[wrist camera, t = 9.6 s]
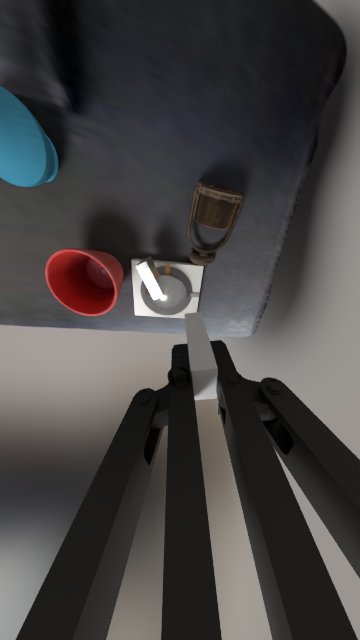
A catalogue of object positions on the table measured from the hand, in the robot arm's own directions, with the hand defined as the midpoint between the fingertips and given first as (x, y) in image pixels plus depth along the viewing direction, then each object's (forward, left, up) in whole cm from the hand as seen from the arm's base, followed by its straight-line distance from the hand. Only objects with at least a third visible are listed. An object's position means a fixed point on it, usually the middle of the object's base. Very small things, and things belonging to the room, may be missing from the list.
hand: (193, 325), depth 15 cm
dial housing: (-4, -5, -22) cm, 22 cm away
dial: (-4, -3, -19) cm, 20 cm away
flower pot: (-17, -2, -22) cm, 27 cm away
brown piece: (+3, +8, -22) cm, 24 cm away
